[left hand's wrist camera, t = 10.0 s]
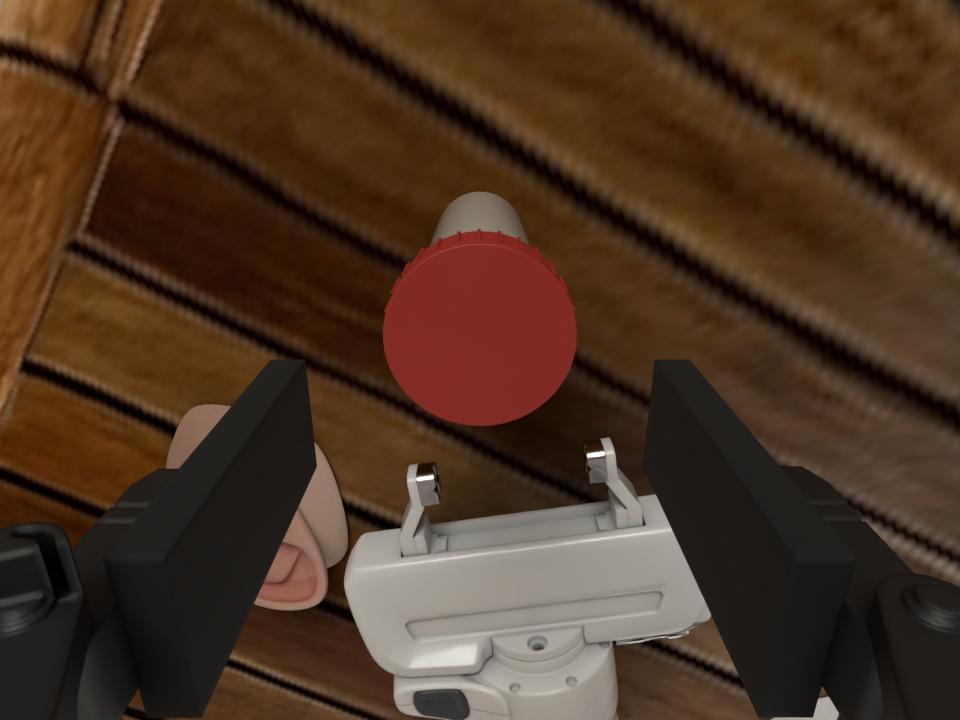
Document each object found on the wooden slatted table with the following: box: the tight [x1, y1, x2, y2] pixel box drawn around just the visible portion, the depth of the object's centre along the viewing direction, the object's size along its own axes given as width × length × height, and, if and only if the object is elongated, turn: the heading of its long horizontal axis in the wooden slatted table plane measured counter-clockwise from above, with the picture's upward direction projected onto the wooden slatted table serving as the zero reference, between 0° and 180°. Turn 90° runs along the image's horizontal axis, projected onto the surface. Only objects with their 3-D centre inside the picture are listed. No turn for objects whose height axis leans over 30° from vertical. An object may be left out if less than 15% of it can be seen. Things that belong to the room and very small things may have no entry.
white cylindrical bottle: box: [430, 192, 530, 246], centre depth 27 cm, size 5×5×17 cm
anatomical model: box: [166, 404, 348, 610], centre depth 39 cm, size 13×4×12 cm
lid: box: [383, 229, 577, 426], centre depth 20 cm, size 6×6×2 cm
